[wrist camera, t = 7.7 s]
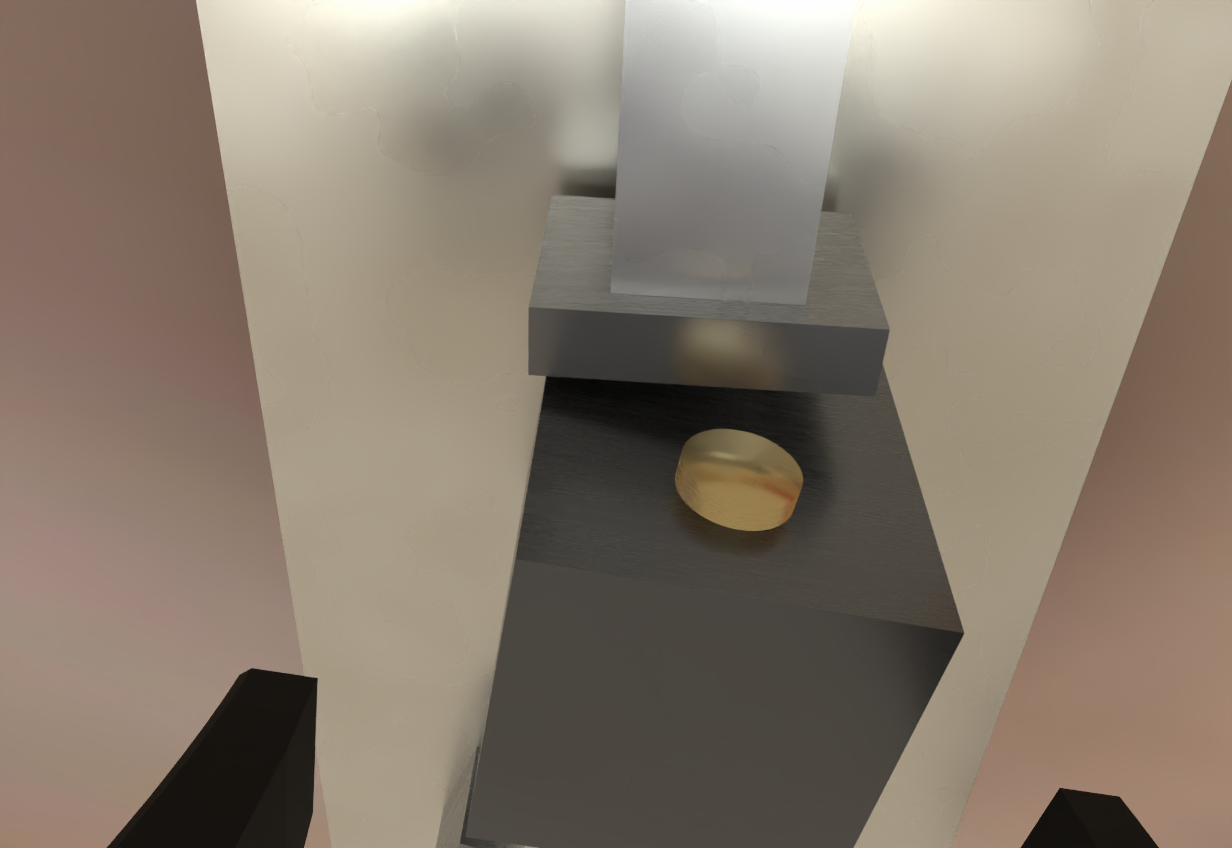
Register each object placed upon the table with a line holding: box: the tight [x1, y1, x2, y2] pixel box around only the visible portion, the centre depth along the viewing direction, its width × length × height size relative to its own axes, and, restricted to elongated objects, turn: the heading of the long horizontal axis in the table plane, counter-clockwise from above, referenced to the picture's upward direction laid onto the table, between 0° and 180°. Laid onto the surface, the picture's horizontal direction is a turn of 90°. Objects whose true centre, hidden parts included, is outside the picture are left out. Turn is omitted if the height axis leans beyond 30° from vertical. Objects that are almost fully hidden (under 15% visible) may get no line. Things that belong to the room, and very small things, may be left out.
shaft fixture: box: [196, 0, 1232, 848], centre depth 15 cm, size 12×22×5 cm, turn 177°
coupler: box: [465, 364, 964, 848], centre depth 13 cm, size 4×5×6 cm
